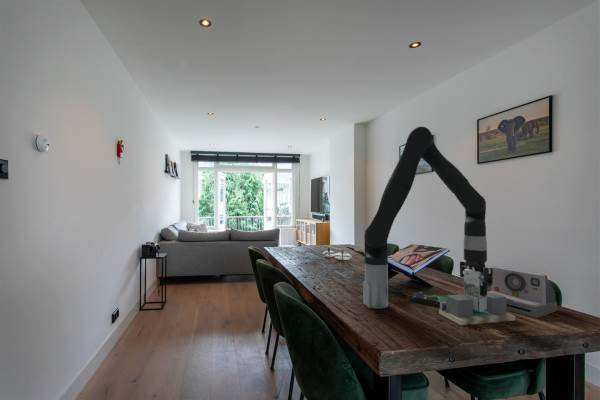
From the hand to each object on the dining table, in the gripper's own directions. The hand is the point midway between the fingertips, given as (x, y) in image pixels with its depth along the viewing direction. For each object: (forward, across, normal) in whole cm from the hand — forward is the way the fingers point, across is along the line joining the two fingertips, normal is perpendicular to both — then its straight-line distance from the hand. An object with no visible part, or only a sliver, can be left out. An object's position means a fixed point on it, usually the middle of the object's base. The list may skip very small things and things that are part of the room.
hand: (475, 292), depth 117 cm
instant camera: (+9, -6, +26) cm, 28 cm away
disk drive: (+10, -20, -5) cm, 23 cm away
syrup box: (+6, 0, 0) cm, 6 cm away
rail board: (+9, 0, 0) cm, 9 cm away
